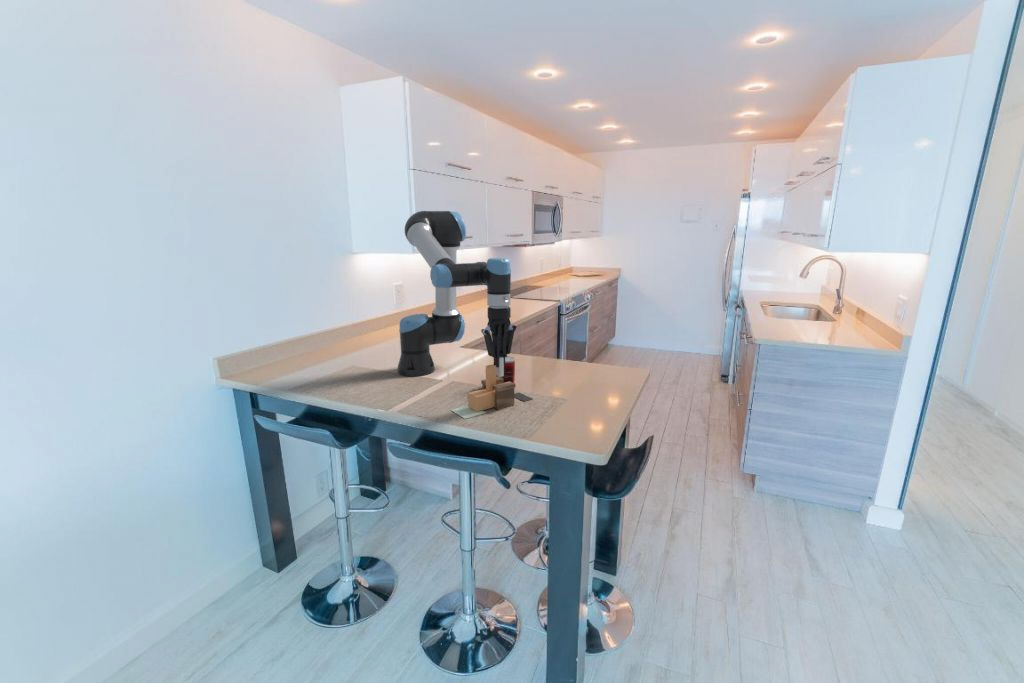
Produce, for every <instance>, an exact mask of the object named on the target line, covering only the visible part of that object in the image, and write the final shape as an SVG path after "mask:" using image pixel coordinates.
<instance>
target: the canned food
mask: <svg viewBox="0 0 1024 683" xmlns="http://www.w3.org/2000/svg"><path fill="white" fill-rule="evenodd" d="M515 365H516V362H515V357H513V356H509V355H507V357H505V366H504V376H502V377H501V378H503V379H504V382H502V383H505V382H509V381H510V382H512V383H514V384H515V385H516V383H515V380H516V379H515V377H516V376H515V373H516V369H515V368H516V366H515ZM496 377H499V376H497V375H496Z"/></svg>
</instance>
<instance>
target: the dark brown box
mask: <svg viewBox="0 0 1024 683" xmlns="http://www.w3.org/2000/svg"><path fill="white" fill-rule="evenodd" d="M502 382H504V379H503V378H501V377H496V385H493V389H494V390H495V407H494V408H495V410H502V409H505V407H506V408H509V407H512V406H515V397H514V394H515V388H516V383H515V384H514V383H512V382H510V381H509V382H505V383H502ZM480 384H482V389H486V378H485V379H482V380H481V383H480ZM482 389H481V390H482Z"/></svg>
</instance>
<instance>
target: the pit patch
mask: <svg viewBox="0 0 1024 683" xmlns="http://www.w3.org/2000/svg"><path fill="white" fill-rule="evenodd" d="M514 399H518V400H519V401H521V402H524V403H525V402H528V401H532V400H533V398H532V397H530V396H529V395H526V394H524V393H521V392H514Z"/></svg>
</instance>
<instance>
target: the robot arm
mask: <svg viewBox="0 0 1024 683" xmlns="http://www.w3.org/2000/svg"><path fill="white" fill-rule="evenodd" d="M405 222H406V223H405V225H404V235H405V238H406V240H407V241H408V242H409V244H410V245H411V246H412V247H415V248H416V249H417V251H418V253H419V254H420V255H421V257H422V258H423V259H424V260H425V262H426V263H427V265H428V266H429V268H430V272H429V273H430V280H431V284H432V286H433V287H434V288H435V289H434V290H435V294H434V296H435V308H434V309H432V311H431V316H429V315H428V314H427V313H416V314H411V315H410V314H409V315H407V316H405V317H403V318H401V319H400V321H399V341H400V342H399V343H400V357H399V361H398V365H397V373H398V374H399V375H401V376H404V377H405V376H406V377H419V376H420V377H421V376H426V375H430V374H432V373H433V372H435V369H436V368H435V363H434V360H433V357H432V355H431V352H430V349H431V348H430V346H432V345H433V346H434V345H439V344H440V345H441V344H447V343H448V344H452V343H456V342H459V341H461V339H463V336H464V335H465V329H466V322H465V318H464V316H463V315H462V314H461V312H460V310H459V309H458V308H457V288H458V287H459V288H461V287H472V286H473V287H474V286H476V287H477V286H486V289H487V291H486V292H487V296H486V302H487V306H488V307H487V319H488V322H487V323H486V324H487V325H486V327H485V328H481V330H480V331H481V333H482V335H483V338H484V342H485V345H486V346H485V347H486V351H487V355H488V357H492V358H493V364H494V365H496V375H497V376H499V377H502V376H504V366H505V357H507V356H508V355H511V352H512V345H513V340H514V336H515V335H514V334H515V332H516V330H517V325H515V324H512V321H511V314H512V313H511V310H512V308H511V307H510V306H511V287H512V286H511V285H512V283H511V282H512V281H511V279H512V278H511V277H512V276H511V274H512V270H511V261H510V259H509V258H506V257H490V258H488V259H487V261H476V262H469V263H468V262H467V263H464V262H463V263H457V251H458V250H459V249H460V248H461V243H462V242H463V241H465V240H466V236H467V235H466V234H467V227H466V223H465V220H464V218H463V216H462V215H461V213H459V212H458V211H450V210H421V211H417V212H414V213H413V214H411V216H410V217H409V218H407V221H405Z"/></svg>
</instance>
